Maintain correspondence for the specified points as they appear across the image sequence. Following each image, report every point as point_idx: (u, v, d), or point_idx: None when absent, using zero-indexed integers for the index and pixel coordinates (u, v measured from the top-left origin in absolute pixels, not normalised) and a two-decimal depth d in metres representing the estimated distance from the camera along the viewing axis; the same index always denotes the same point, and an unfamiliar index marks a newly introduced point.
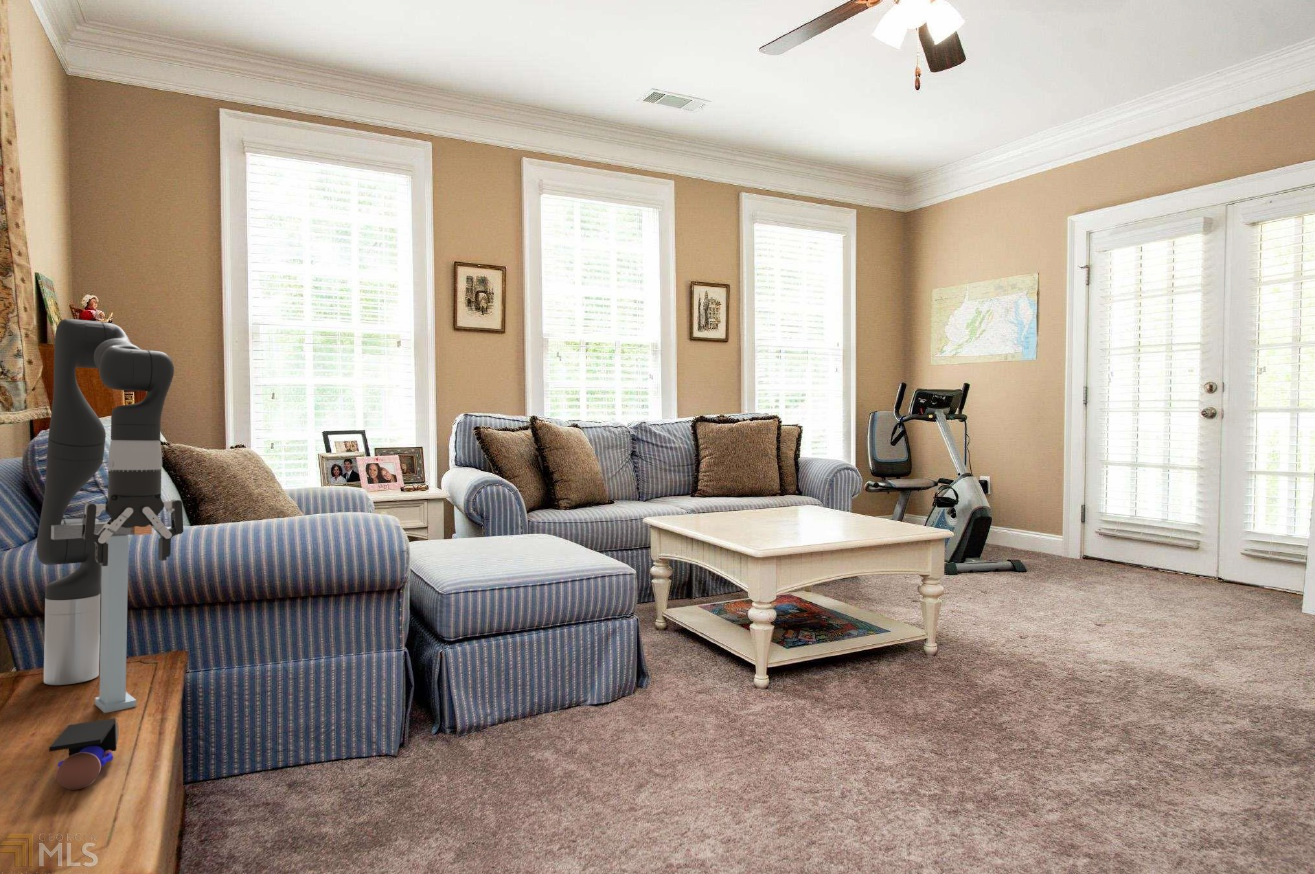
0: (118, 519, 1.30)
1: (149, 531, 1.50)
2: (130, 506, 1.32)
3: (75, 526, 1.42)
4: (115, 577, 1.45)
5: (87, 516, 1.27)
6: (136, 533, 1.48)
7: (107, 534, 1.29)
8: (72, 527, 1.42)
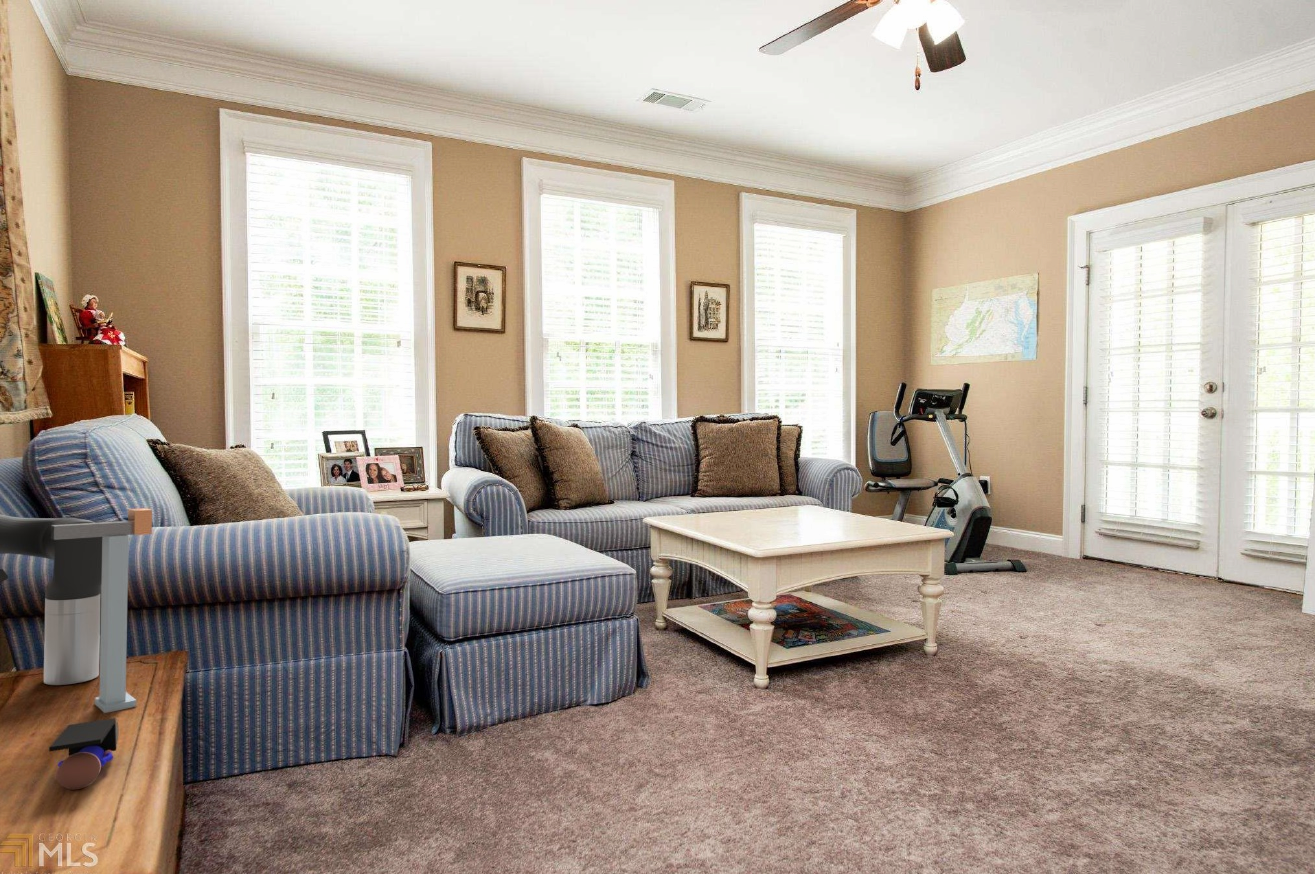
0: None
1: (149, 531, 1.50)
2: None
3: (75, 526, 1.42)
4: (115, 577, 1.45)
5: None
6: (136, 533, 1.48)
7: None
8: (72, 527, 1.42)
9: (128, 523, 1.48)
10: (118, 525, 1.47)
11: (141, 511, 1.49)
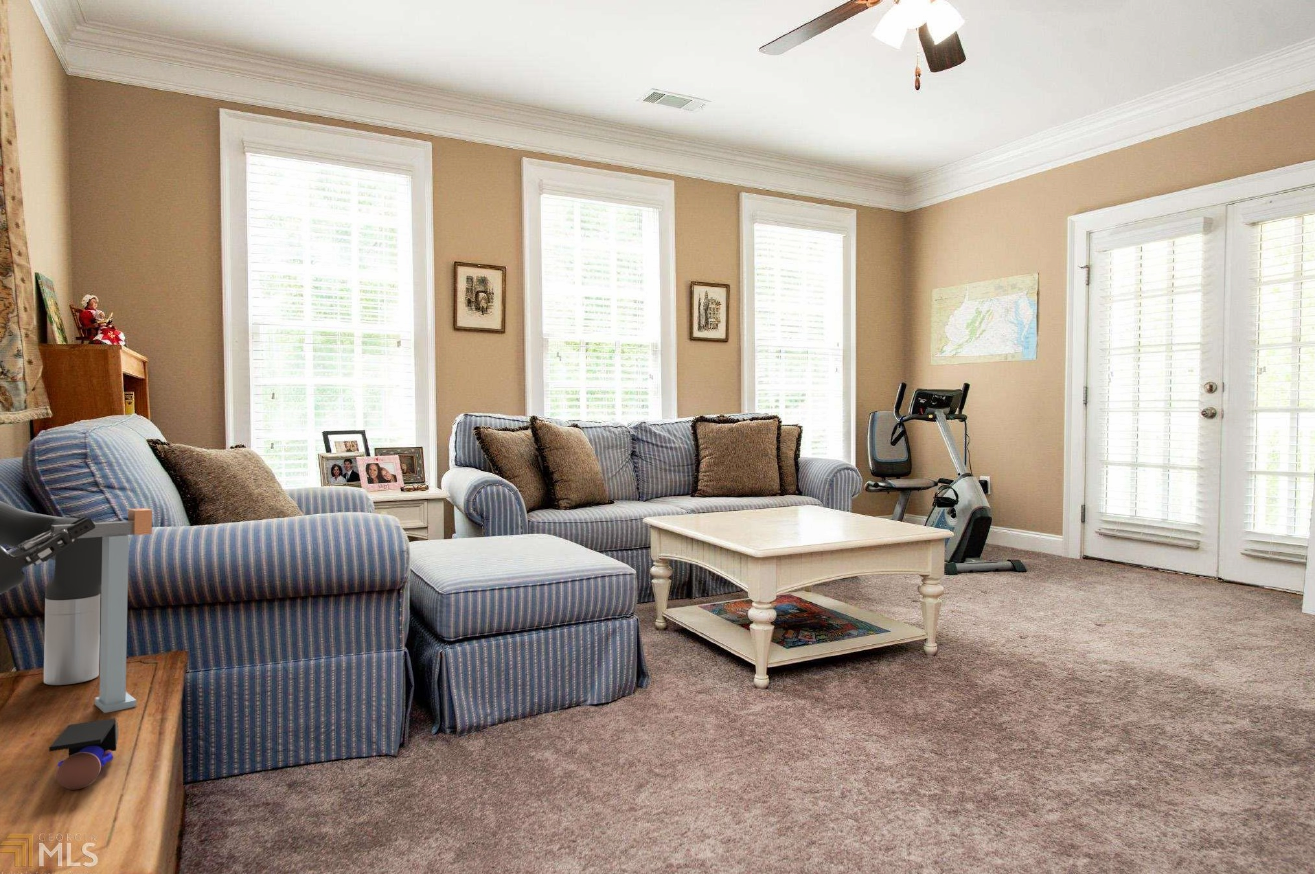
0: None
1: (149, 531, 1.50)
2: None
3: None
4: (115, 577, 1.45)
5: None
6: (136, 533, 1.48)
7: None
8: None
9: (128, 523, 1.48)
10: (118, 525, 1.47)
11: (141, 511, 1.48)
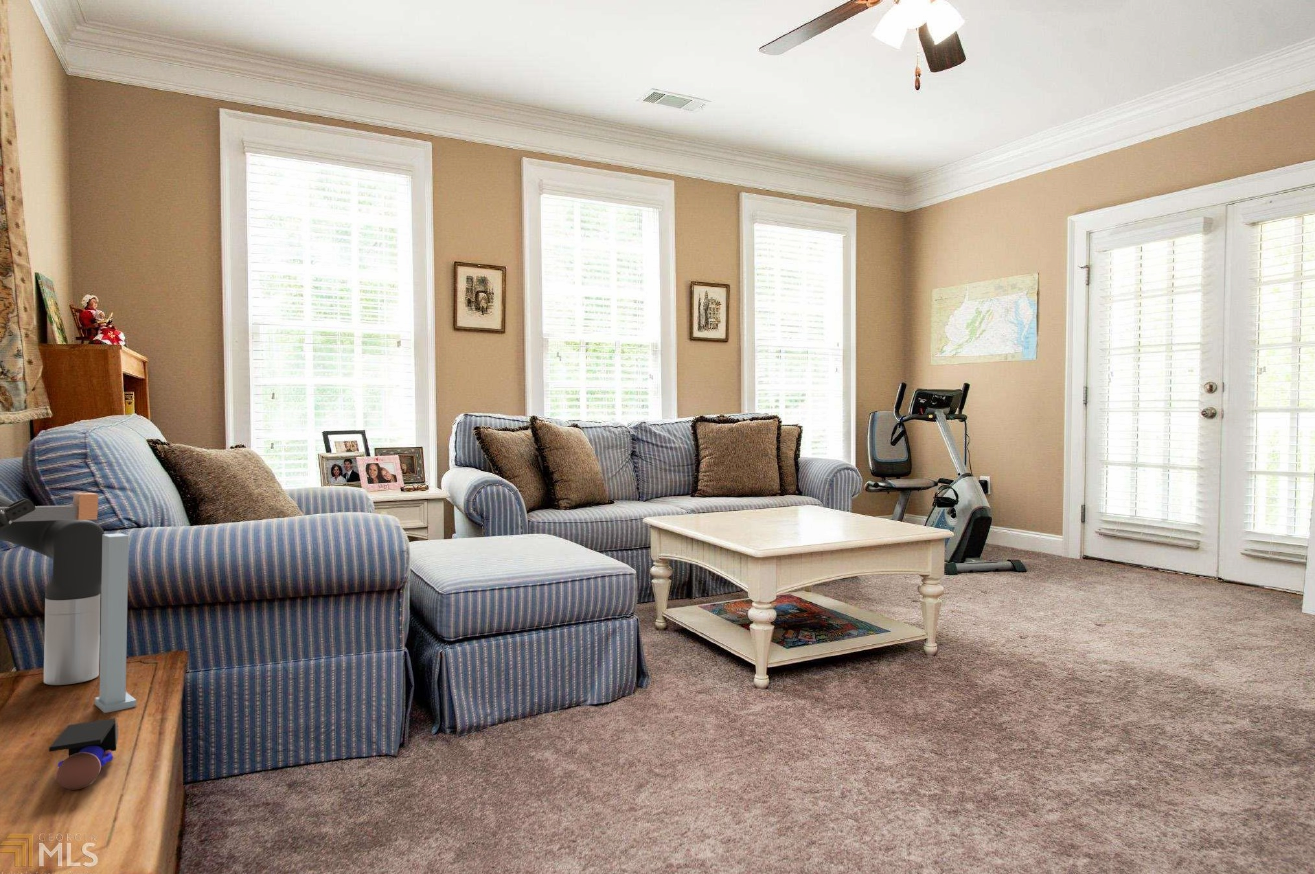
0: None
1: (94, 516, 1.43)
2: None
3: None
4: (115, 577, 1.45)
5: None
6: (80, 518, 1.41)
7: None
8: None
9: (72, 507, 1.41)
10: (61, 509, 1.40)
11: (86, 495, 1.42)
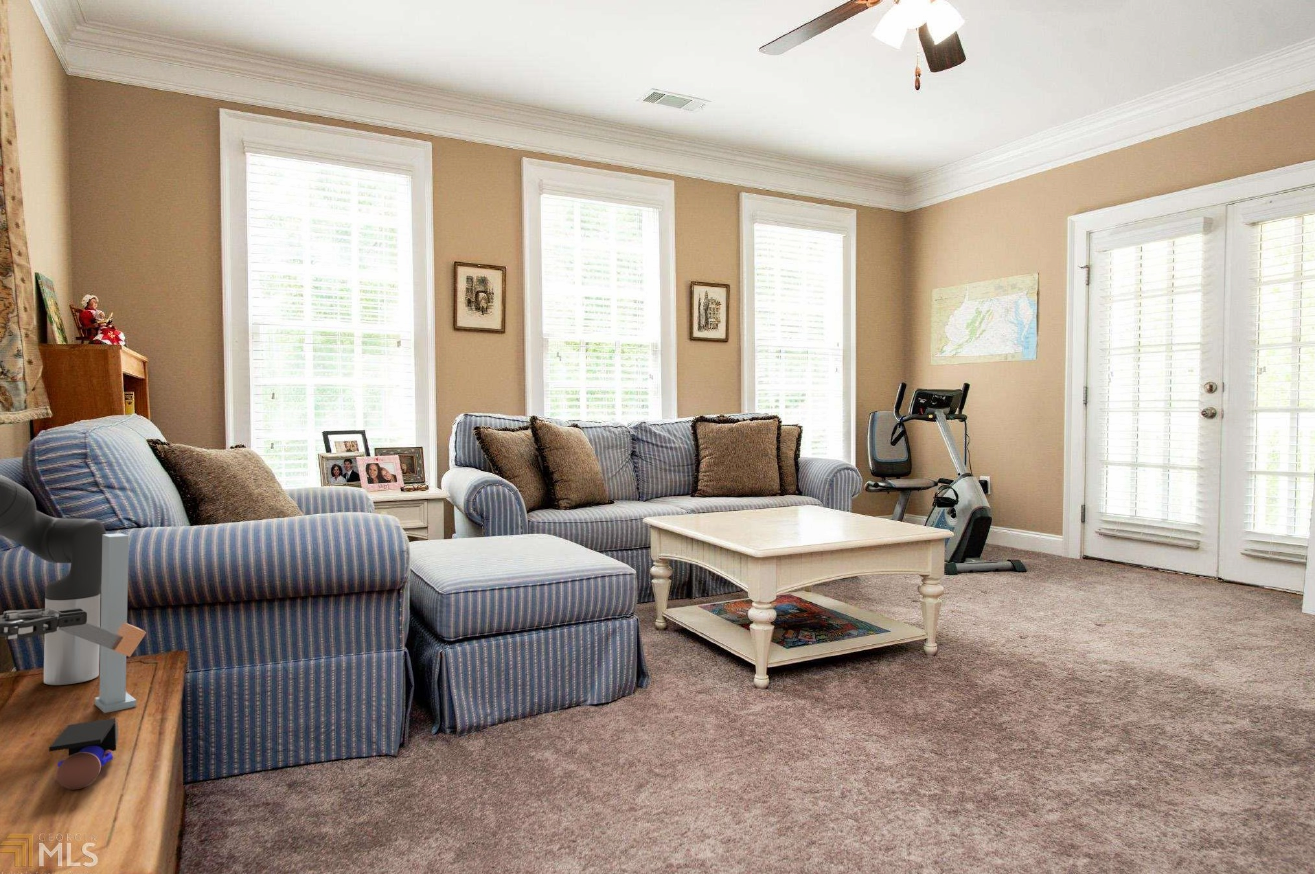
0: None
1: (129, 653, 1.39)
2: None
3: None
4: (115, 577, 1.45)
5: None
6: (117, 650, 1.37)
7: (42, 625, 1.33)
8: None
9: (116, 636, 1.38)
10: (105, 634, 1.37)
11: (136, 629, 1.39)
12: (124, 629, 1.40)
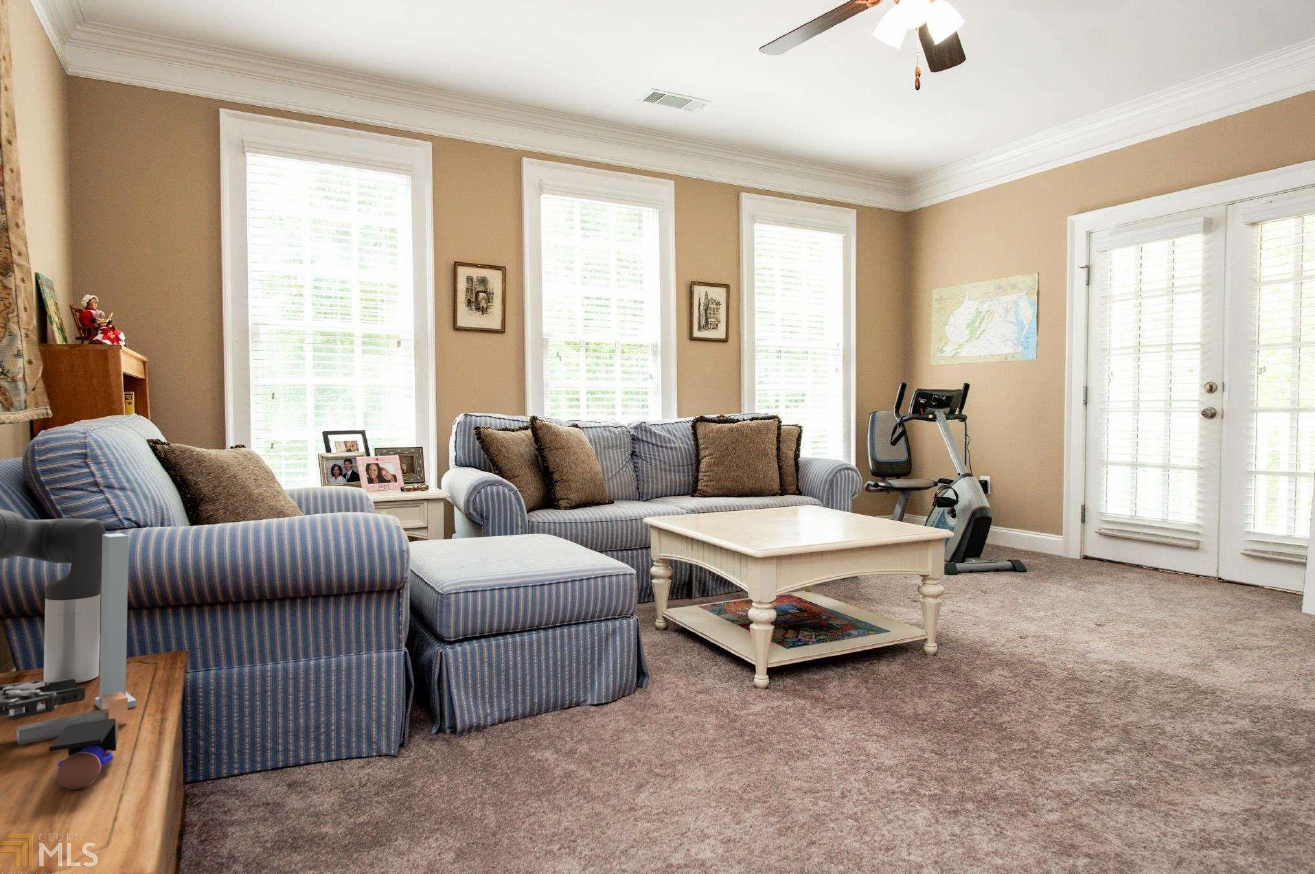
0: None
1: (124, 721, 1.38)
2: None
3: (43, 727, 1.31)
4: (115, 577, 1.45)
5: None
6: None
7: None
8: (39, 728, 1.30)
9: (101, 715, 1.36)
10: (90, 719, 1.35)
11: (116, 701, 1.37)
12: (105, 704, 1.38)
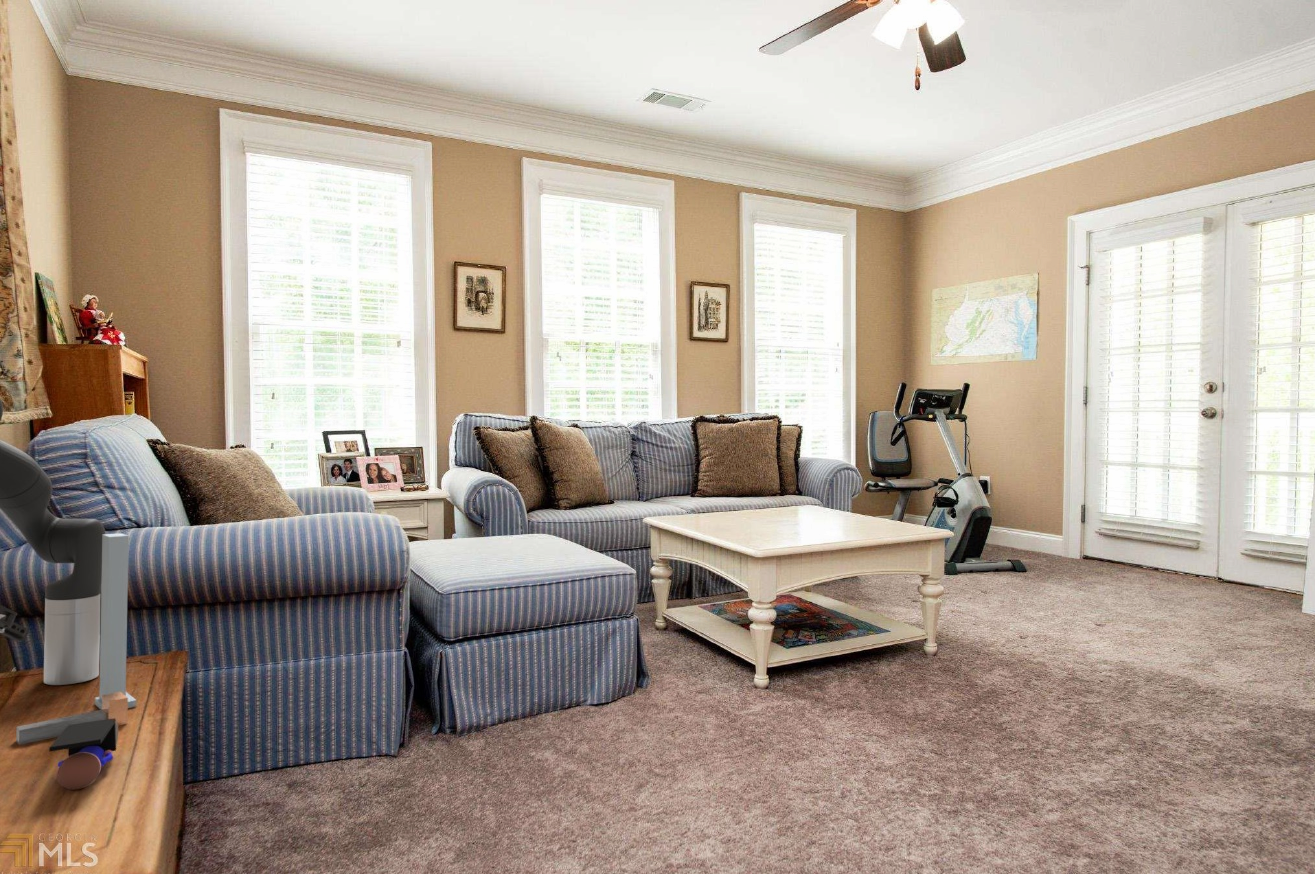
0: None
1: (124, 721, 1.38)
2: None
3: (43, 727, 1.31)
4: (115, 577, 1.45)
5: None
6: None
7: None
8: (39, 728, 1.30)
9: (101, 715, 1.37)
10: (90, 719, 1.35)
11: (116, 701, 1.37)
12: (105, 704, 1.38)
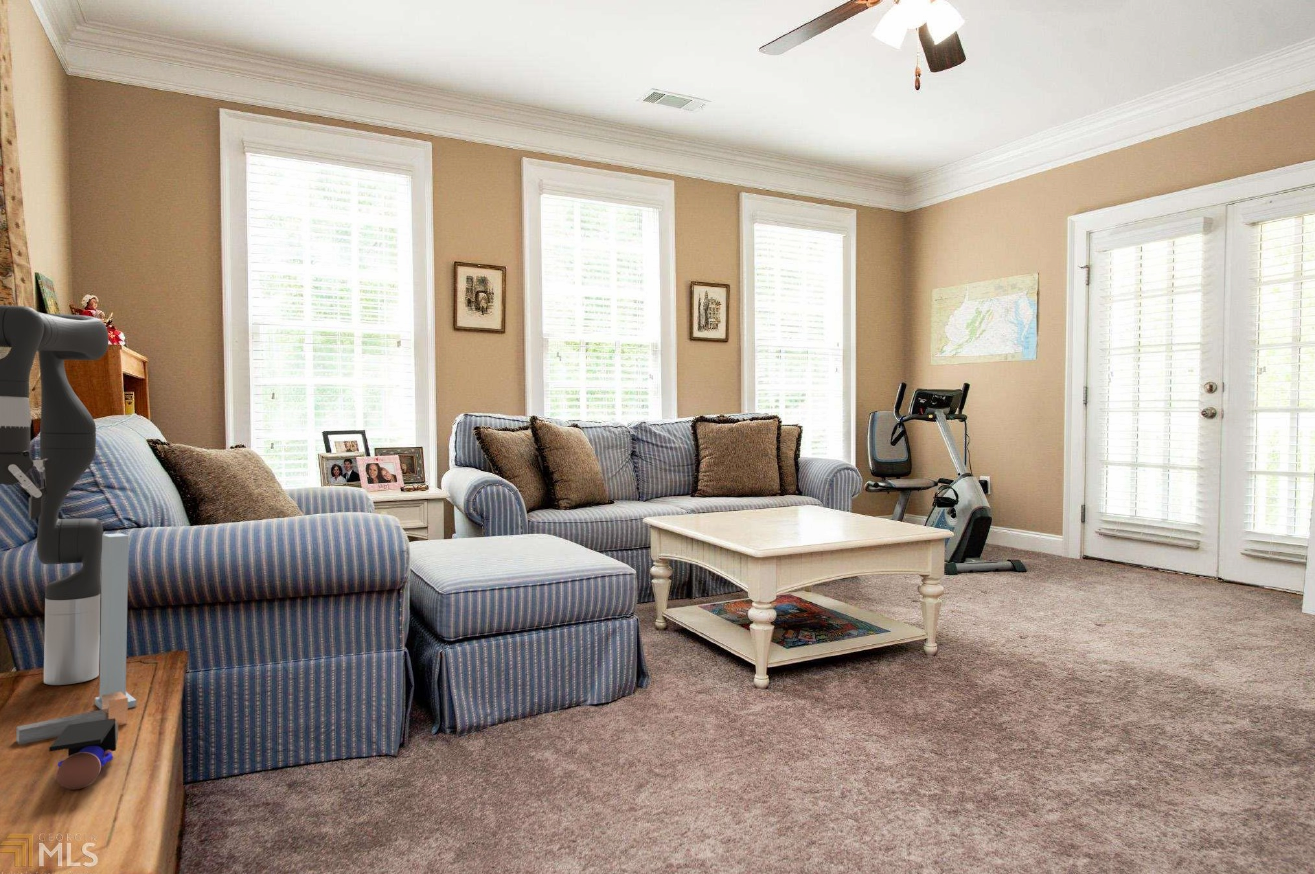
0: None
1: (124, 721, 1.38)
2: None
3: (43, 727, 1.31)
4: (115, 577, 1.45)
5: None
6: None
7: None
8: (39, 728, 1.30)
9: (101, 715, 1.37)
10: (90, 719, 1.35)
11: (116, 701, 1.37)
12: (105, 704, 1.38)
